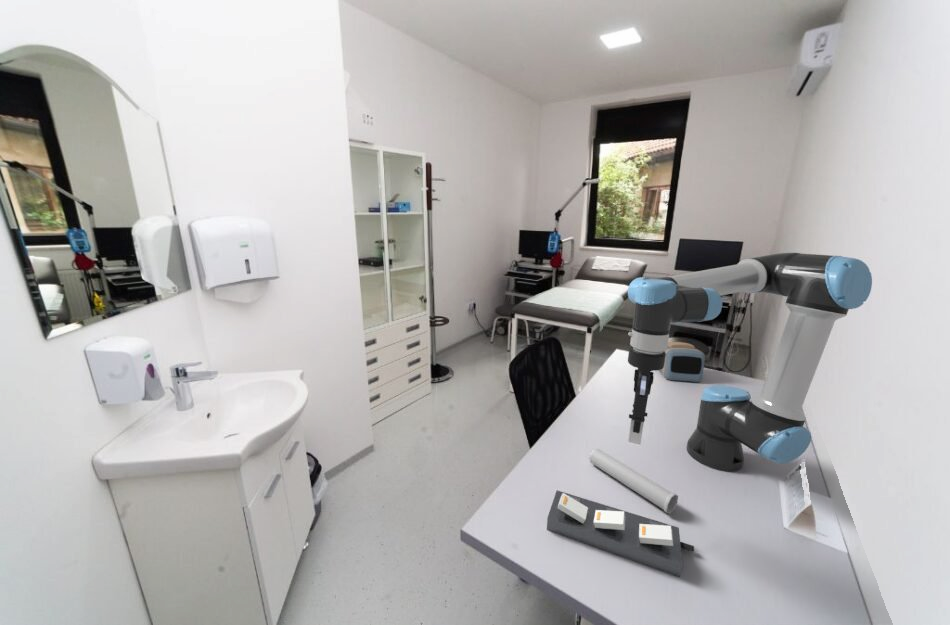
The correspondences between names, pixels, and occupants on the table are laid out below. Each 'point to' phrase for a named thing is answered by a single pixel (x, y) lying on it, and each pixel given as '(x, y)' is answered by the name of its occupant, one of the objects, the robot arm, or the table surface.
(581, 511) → the block
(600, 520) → the block
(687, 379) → the alarm clock
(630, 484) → the tube
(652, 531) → the block
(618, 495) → the table surface
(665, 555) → the power strip
